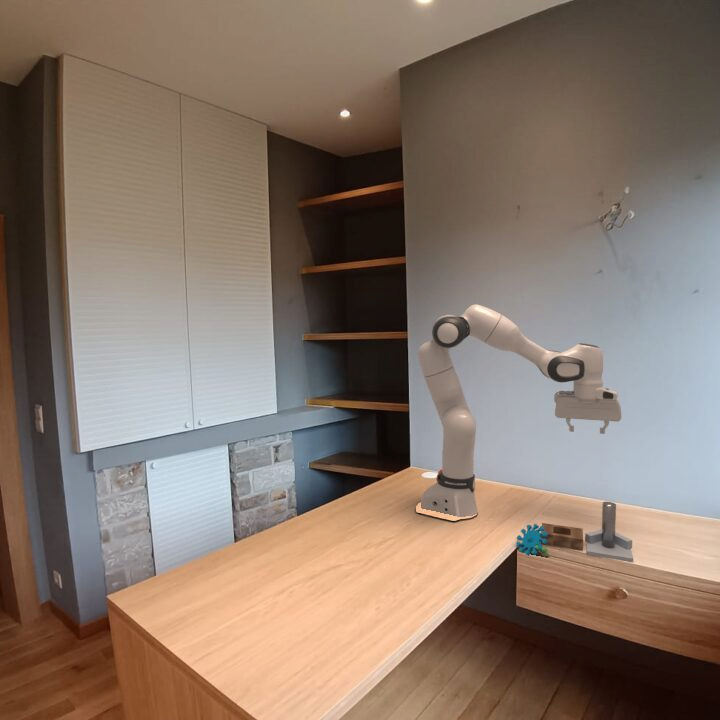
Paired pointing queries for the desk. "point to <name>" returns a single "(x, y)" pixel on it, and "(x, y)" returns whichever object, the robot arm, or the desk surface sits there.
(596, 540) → the v block
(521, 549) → the blue spiky virus model
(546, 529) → the brown slotted block
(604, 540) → the axle
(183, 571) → the desk surface
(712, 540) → the desk surface
